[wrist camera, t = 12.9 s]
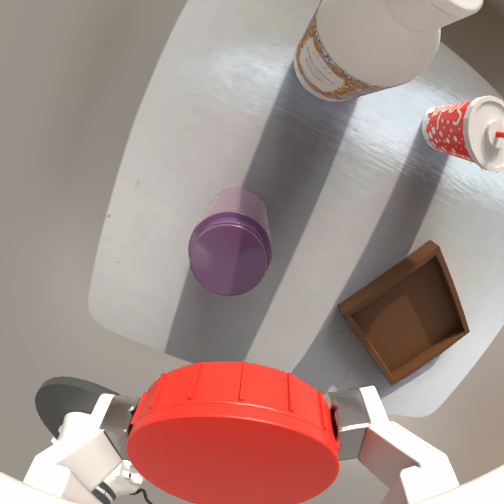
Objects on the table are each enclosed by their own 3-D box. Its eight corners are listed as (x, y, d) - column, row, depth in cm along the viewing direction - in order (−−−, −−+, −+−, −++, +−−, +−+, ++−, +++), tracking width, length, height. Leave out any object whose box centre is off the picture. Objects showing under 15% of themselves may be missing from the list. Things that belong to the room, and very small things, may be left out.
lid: (117, 355, 8) (90, 401, 6) (341, 352, 8) (356, 408, 6) (170, 465, 10) (160, 503, 8) (324, 467, 10) (328, 508, 8)
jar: (271, 240, 30) (279, 294, 20) (214, 250, 31) (196, 306, 21) (261, 182, 28) (265, 210, 18) (201, 193, 29) (173, 227, 19)
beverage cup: (447, 91, 24) (545, 84, 11) (469, 144, 26) (566, 165, 13) (404, 113, 25) (501, 111, 12) (429, 168, 27) (525, 201, 14)
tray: (462, 323, 34) (469, 331, 32) (386, 375, 37) (391, 385, 35) (430, 239, 30) (439, 246, 28) (337, 304, 33) (341, 314, 31)
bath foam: (277, 54, 24) (316, -76, 5) (338, 22, 22) (446, -94, 4) (321, 115, 26) (446, 94, 7) (380, 82, 25) (541, 42, 6)
